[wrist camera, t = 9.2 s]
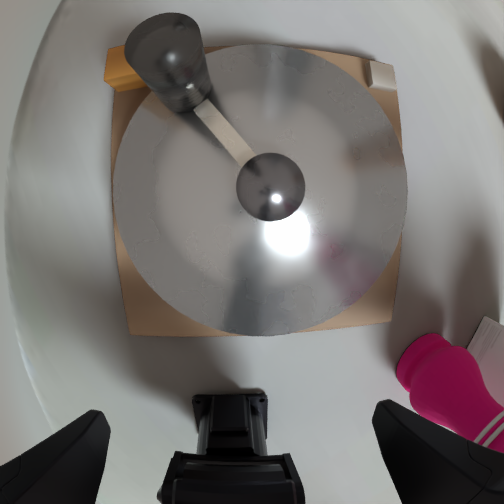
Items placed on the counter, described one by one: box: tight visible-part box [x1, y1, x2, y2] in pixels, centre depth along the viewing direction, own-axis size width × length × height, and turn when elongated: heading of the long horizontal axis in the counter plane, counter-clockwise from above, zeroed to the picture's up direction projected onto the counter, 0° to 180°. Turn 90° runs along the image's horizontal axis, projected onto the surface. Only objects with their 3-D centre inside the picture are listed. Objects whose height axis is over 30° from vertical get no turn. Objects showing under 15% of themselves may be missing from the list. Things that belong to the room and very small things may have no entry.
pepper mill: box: [396, 333, 504, 453], centre depth 13 cm, size 7×7×20 cm
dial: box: [113, 13, 408, 336], centre depth 13 cm, size 18×18×8 cm
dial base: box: [104, 45, 402, 337], centre depth 17 cm, size 20×20×4 cm
